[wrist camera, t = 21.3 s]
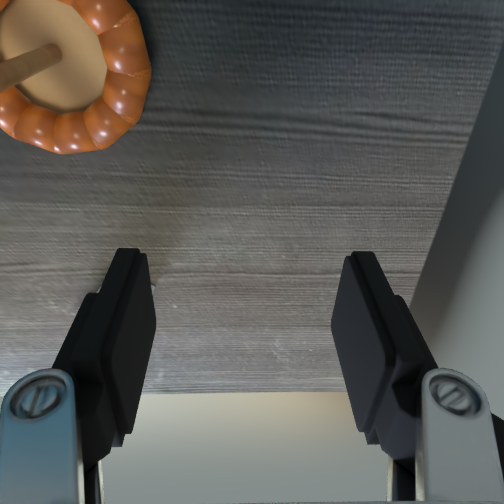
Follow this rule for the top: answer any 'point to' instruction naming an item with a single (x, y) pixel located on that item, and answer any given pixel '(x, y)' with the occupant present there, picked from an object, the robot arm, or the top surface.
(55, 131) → the glossy orange segmented ring
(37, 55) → the wooden ring stacker peg
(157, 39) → the top surface
